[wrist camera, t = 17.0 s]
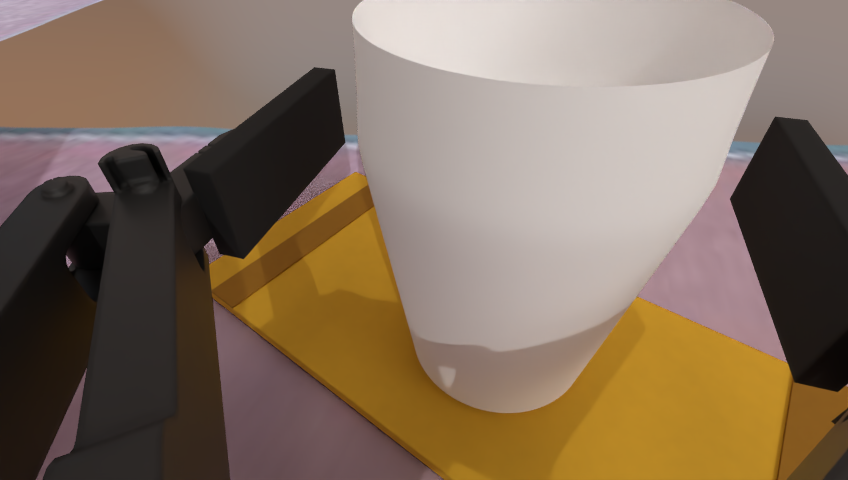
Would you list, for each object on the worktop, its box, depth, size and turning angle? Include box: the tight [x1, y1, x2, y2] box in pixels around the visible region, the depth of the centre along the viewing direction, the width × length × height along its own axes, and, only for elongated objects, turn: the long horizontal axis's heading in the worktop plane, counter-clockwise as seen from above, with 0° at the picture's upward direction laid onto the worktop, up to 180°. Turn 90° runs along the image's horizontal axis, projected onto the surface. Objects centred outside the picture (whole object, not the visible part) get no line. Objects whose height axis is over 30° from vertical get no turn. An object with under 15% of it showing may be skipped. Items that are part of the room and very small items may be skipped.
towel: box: [209, 172, 848, 480], centre depth 18 cm, size 26×11×1 cm, turn 53°
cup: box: [352, 0, 774, 413], centre depth 14 cm, size 9×9×12 cm
